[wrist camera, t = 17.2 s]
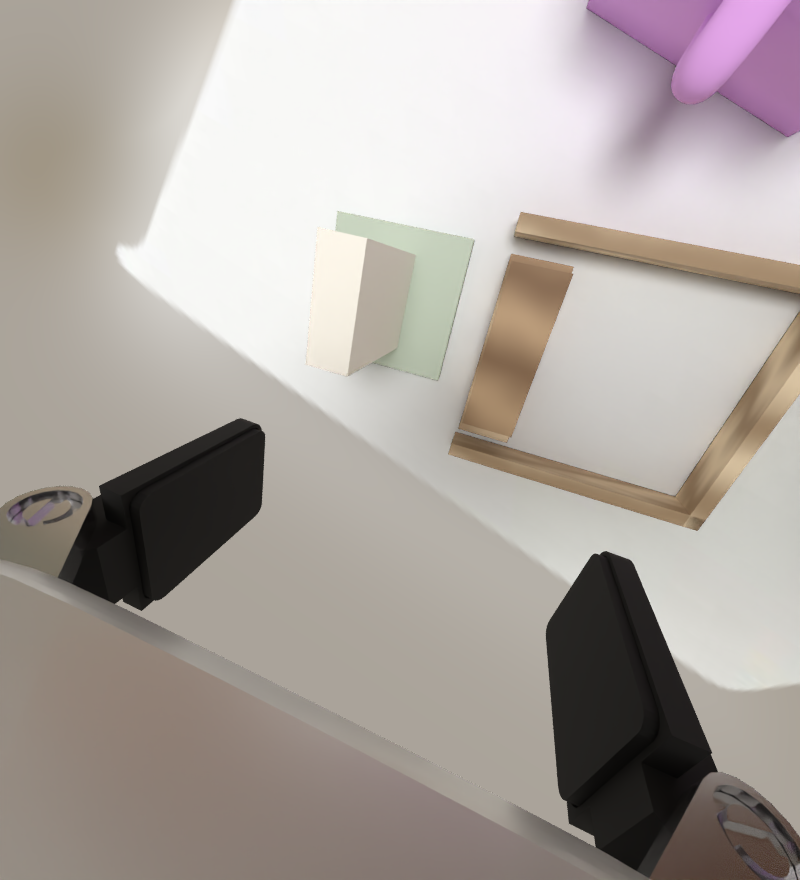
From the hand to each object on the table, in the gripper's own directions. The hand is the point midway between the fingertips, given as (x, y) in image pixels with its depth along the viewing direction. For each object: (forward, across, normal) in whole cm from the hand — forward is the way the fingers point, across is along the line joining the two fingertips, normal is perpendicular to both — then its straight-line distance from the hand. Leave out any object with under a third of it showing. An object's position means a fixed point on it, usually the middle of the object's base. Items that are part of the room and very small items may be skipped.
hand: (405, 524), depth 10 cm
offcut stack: (+26, -2, -1) cm, 26 cm away
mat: (+26, +10, -3) cm, 27 cm away
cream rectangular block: (+25, +10, -3) cm, 27 cm away
